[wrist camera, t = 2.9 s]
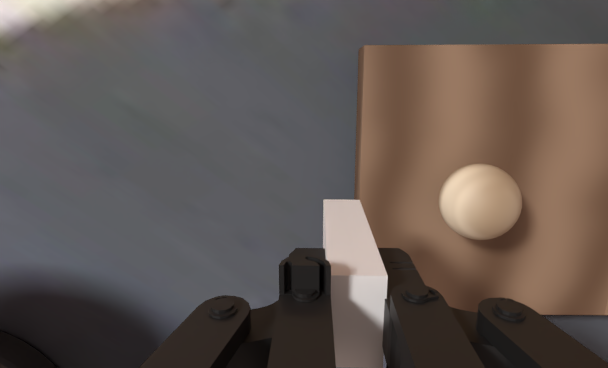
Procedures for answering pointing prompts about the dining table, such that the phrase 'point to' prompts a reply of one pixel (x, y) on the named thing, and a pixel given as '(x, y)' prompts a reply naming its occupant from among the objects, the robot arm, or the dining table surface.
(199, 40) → the dining table surface
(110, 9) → the dining table surface
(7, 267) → the dining table surface
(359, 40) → the dining table surface
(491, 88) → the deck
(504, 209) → the ball
